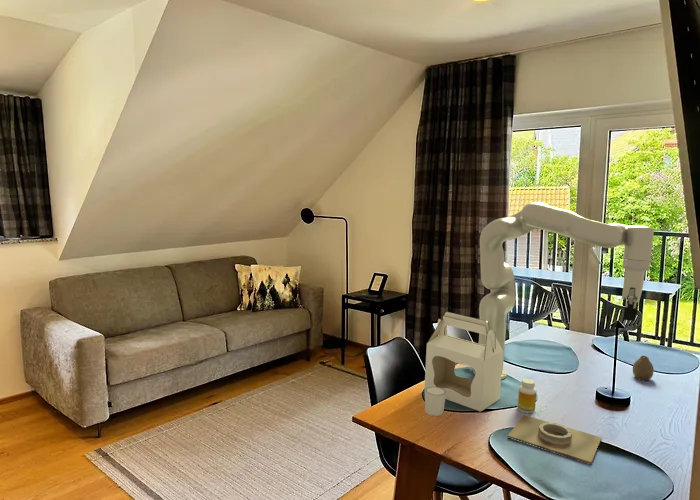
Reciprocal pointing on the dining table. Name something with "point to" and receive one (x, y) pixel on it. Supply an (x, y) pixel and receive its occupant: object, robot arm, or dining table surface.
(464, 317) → the gable box
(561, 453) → the socket board
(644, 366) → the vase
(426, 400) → the white cup
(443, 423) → the dining table surface
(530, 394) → the supplement bottle
